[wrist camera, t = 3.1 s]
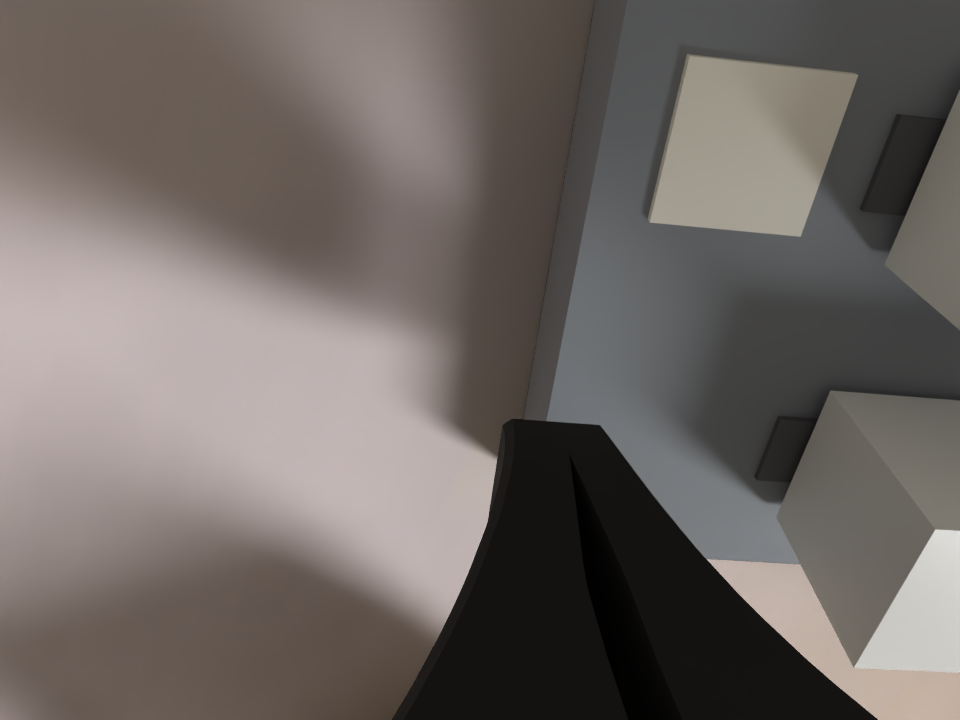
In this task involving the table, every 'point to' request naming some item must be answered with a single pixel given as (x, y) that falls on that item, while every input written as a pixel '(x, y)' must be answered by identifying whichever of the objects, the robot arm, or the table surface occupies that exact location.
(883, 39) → the panel
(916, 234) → the switch
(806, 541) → the switch
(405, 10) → the table surface
